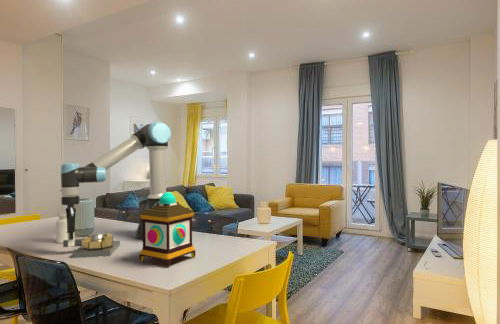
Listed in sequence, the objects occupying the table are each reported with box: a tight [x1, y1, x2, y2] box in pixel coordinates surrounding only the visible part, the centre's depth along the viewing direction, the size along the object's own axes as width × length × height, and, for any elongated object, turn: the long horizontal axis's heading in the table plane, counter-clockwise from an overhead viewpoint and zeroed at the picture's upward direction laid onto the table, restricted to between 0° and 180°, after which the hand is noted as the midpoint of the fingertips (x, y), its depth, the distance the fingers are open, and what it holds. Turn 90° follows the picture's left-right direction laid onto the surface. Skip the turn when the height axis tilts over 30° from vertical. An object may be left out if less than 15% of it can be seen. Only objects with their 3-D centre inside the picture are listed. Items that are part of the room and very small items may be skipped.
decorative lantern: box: [138, 191, 196, 268], centre depth 149 cm, size 20×20×30 cm
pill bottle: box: [55, 213, 68, 244], centre depth 184 cm, size 8×8×15 cm
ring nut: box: [62, 232, 114, 249], centre depth 163 cm, size 22×13×4 cm, turn 104°
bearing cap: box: [72, 232, 121, 259], centre depth 164 cm, size 16×20×8 cm
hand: (71, 245), depth 159 cm, fingers closed
